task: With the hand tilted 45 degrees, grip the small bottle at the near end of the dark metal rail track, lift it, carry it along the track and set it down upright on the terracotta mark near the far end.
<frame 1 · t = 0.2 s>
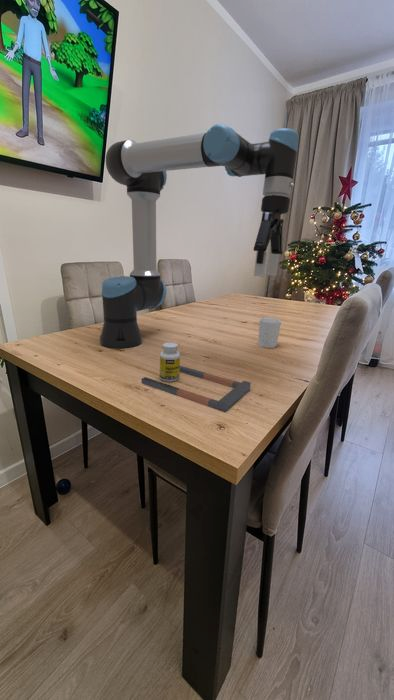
hand: (265, 276, 90), 27 cm above the table, tool pointing down, fingers open, 13 cm apart
white cup: (267, 346, 117), on the table
rail track: (195, 386, 80), on the table
supplement bottle: (169, 378, 85), on the table
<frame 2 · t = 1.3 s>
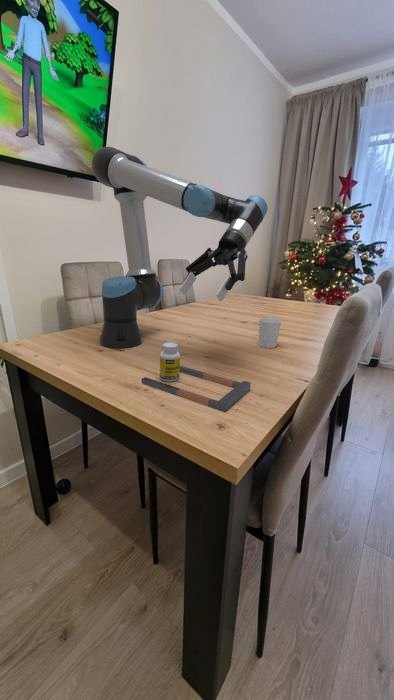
hand: (199, 294, 85), 22 cm above the table, tool tilted 45°, fingers open, 13 cm apart
nothing on the table moved.
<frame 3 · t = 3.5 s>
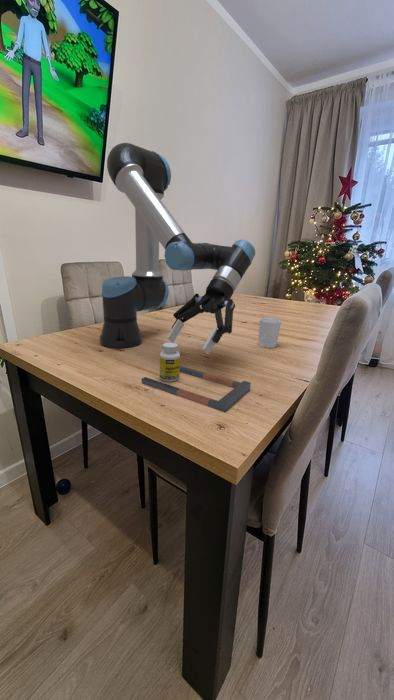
hand: (186, 345, 84), 9 cm above the table, tool tilted 45°, fingers open, 13 cm apart
nothing on the table moved.
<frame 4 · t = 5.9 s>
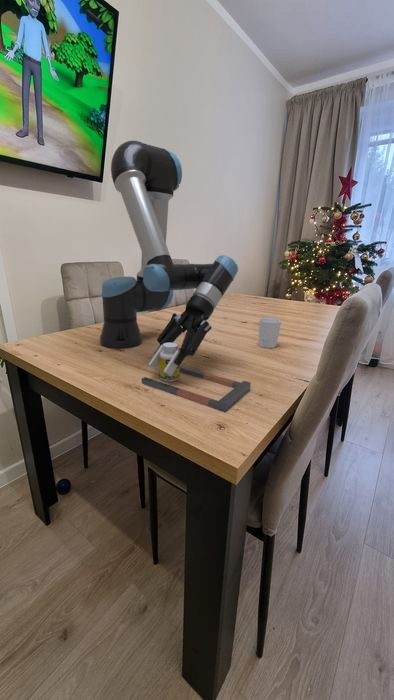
hand: (159, 370, 81), 3 cm above the table, tool tilted 45°, fingers closed on supplement bottle, 5 cm apart
supplement bottle: (169, 378, 85), on the table, touching gripper
everything else where it was.
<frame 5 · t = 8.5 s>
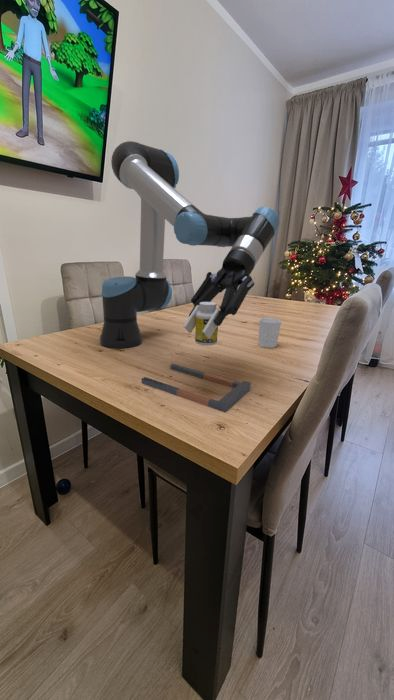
hand: (196, 332, 71), 16 cm above the table, tool tilted 45°, fingers closed on supplement bottle, 5 cm apart
supplement bottle: (206, 343, 75), point 12 cm above the table, touching gripper
everything else where it was.
when the fingers open (4 cm above the table, at t = 11.0 s): supplement bottle stays where it is, on the table.
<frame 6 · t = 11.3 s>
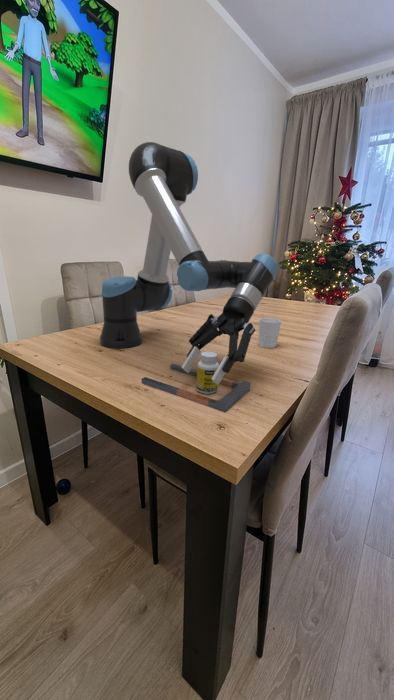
hand: (199, 375, 75), 5 cm above the table, tool tilted 45°, fingers open, 9 cm apart
supplement bottle: (206, 390, 79), on the table
everything else where it was.
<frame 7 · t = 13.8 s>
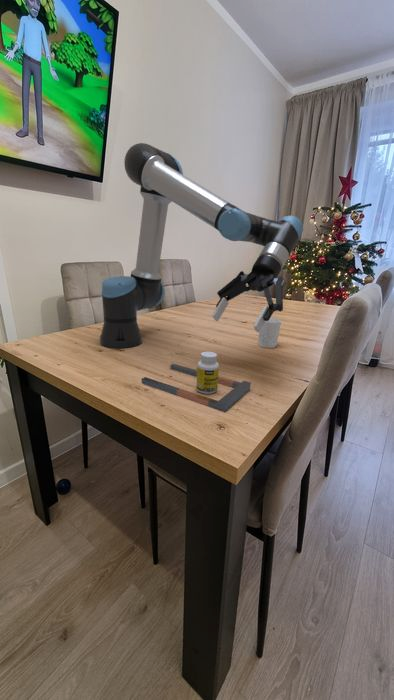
hand: (234, 323, 81), 16 cm above the table, tool tilted 45°, fingers open, 13 cm apart
nothing on the table moved.
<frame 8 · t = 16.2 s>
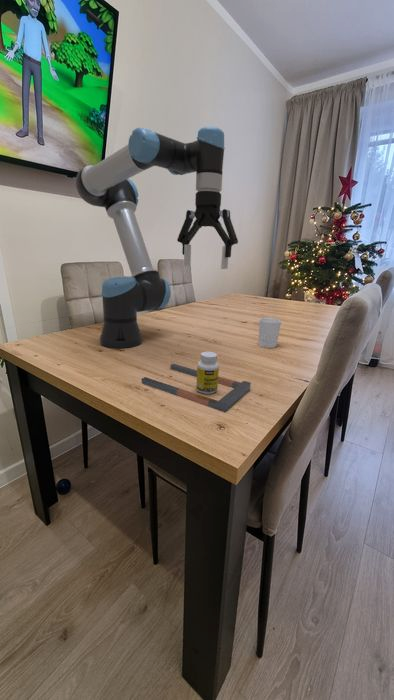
hand: (205, 267, 96), 29 cm above the table, tool pointing down, fingers open, 13 cm apart
nothing on the table moved.
at the end: supplement bottle 0.1 cm from the target spot, on the table; supplement bottle tilted 0°; the gripper is holding nothing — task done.
